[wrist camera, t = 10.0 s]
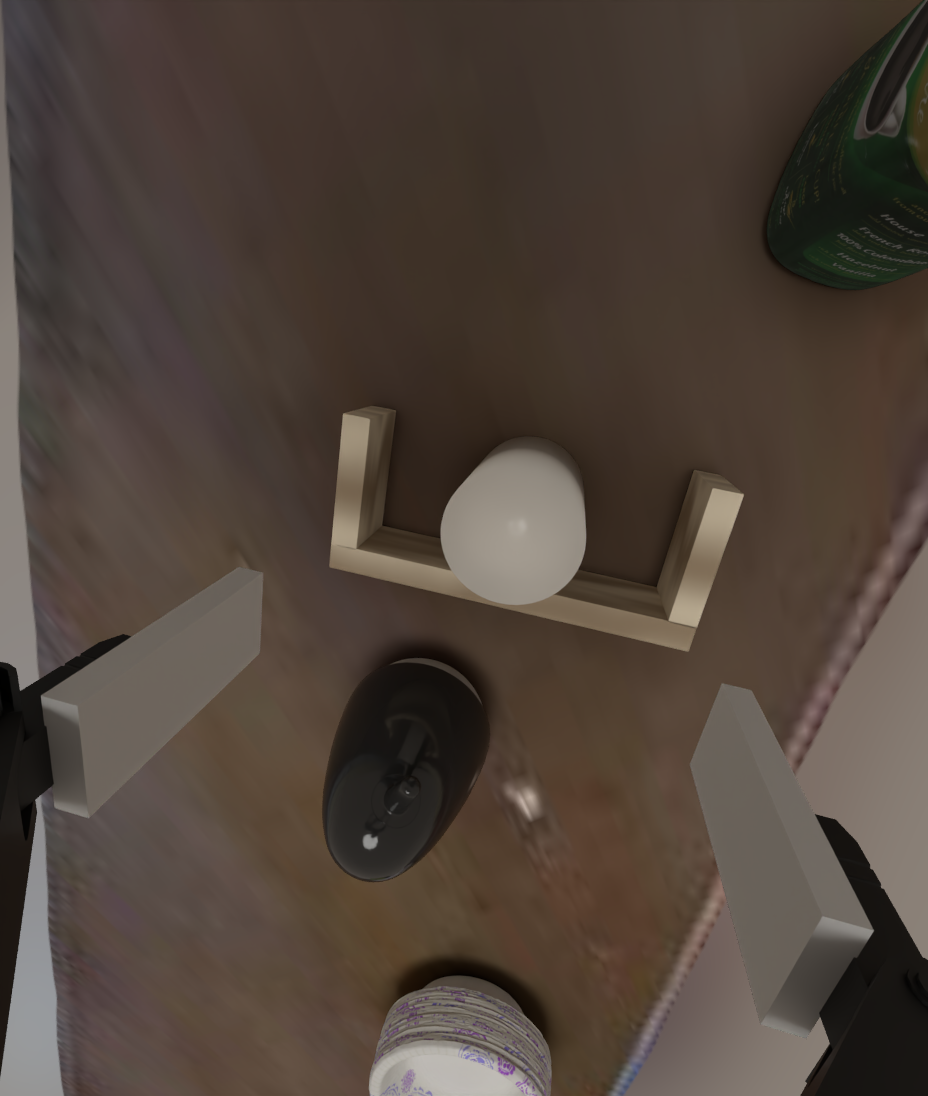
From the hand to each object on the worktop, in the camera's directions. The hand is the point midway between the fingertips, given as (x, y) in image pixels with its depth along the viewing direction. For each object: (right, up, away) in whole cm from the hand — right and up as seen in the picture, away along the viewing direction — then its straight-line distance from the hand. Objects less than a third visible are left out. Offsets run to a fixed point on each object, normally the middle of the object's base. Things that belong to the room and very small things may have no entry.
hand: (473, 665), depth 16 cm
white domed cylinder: (+4, +7, +20) cm, 22 cm away
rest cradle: (+4, +6, +21) cm, 22 cm away
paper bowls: (0, -40, +38) cm, 55 cm away
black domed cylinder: (-3, -8, +27) cm, 28 cm away
